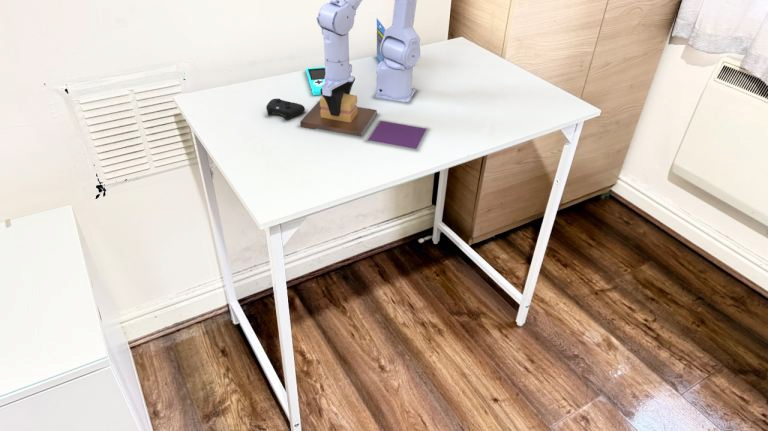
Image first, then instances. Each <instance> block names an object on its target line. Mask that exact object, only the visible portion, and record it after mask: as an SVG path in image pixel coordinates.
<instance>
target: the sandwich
mask: <svg viewBox="0 0 768 431" xmlns="http://www.w3.org/2000/svg"><path fill="white" fill-rule="evenodd" d="M319 100H320V107H321V110H320V111H321V118H327V119H333V120H339V121H344V122H350V123H351V122H352V120H353V119H354V118H355V116H356V115H357V114H358V109H357V107H358V106H357V104H358V95H355V94H351V93H350V94H343V97H342V100H341V108H340V114H339V116H333V115H331V114H330V111H329V108H328V105H327V103H326V101H325V99H324V97H323V96H322V95H321V97H320V98H319Z"/></svg>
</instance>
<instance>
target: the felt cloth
mask: <svg viewBox="0 0 768 431" xmlns="http://www.w3.org/2000/svg"><path fill="white" fill-rule="evenodd" d="M426 131H427V128H426V127H420V126H415V125H408V124H401V123H395V122H389V121H385V120H380V121H379V122H378V124H377V126H376V127H375V128H374V130H373V131H372V133H371V134H370V136H369V138H368V139H367V141H369V142H375V143H381V144H385V145H391V146H398V147H402V148H409V149H415V150H417V148H418V146H419V144H420V142H421V141H422V139H423V137H424V134H425V133H426Z"/></svg>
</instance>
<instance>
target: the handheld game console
mask: <svg viewBox="0 0 768 431" xmlns="http://www.w3.org/2000/svg"><path fill="white" fill-rule="evenodd" d="M305 72H306V75H307V79H308V82H309V86H310V90H311V93H312V96H322V95H321V92H320V89H321V88H322V87H323V86H324V79H325V74H326V72H325V66H316V67H315V66H314V67H307V68H305Z"/></svg>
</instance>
